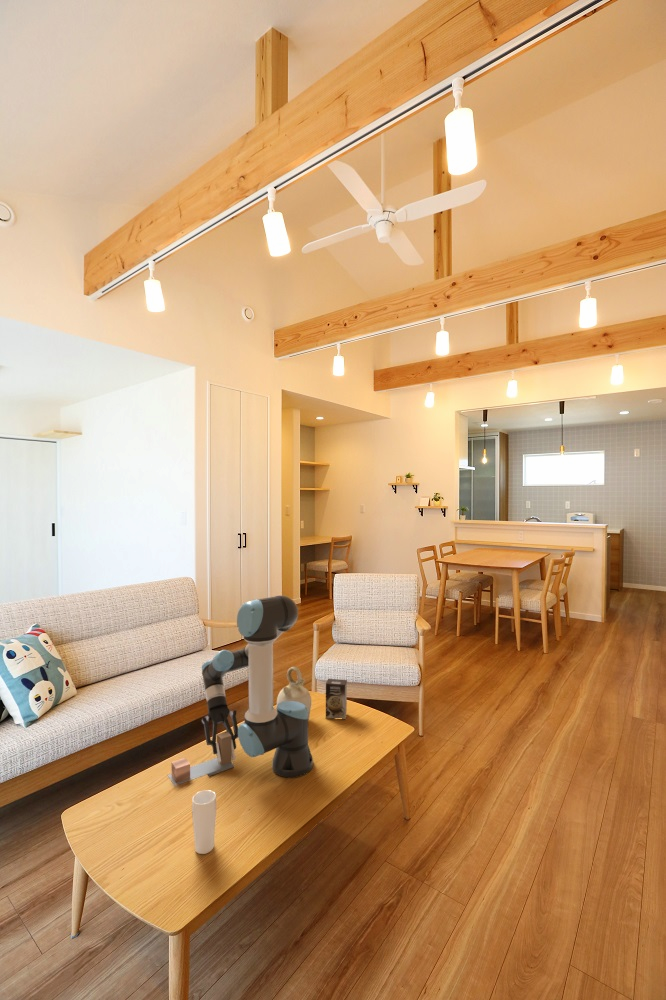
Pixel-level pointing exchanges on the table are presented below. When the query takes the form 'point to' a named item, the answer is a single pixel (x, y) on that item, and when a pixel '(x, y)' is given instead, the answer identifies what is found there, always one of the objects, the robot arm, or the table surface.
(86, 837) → the table surface
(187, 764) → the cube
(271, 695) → the robot arm
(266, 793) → the table surface
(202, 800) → the drinking glass
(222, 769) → the strip
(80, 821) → the table surface
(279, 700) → the jug
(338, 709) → the coffee box
